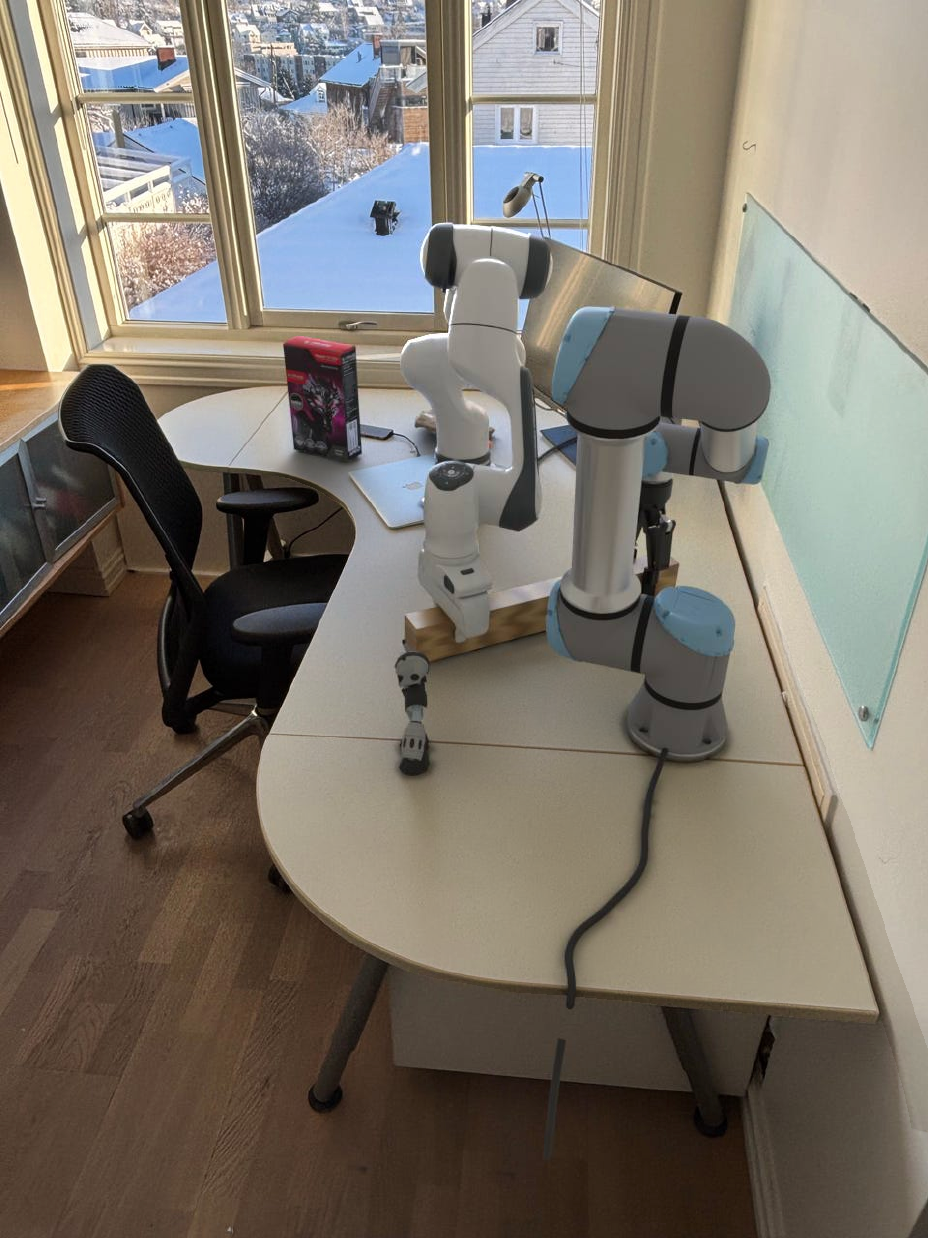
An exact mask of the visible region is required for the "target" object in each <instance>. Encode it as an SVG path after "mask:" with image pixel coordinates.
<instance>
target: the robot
mask: <svg viewBox="0 0 928 1238" xmlns="http://www.w3.org/2000/svg"><path fill="white" fill-rule="evenodd" d="M401 642H402V645H403V648H404V650H405V653H403V654H401V655H400V656H399V657H398V658H396V661H395V663H394V669H395V674H396V676H397V681H398V683H397V685H398V687H399V688H402V689H401V693H402V695H403V697H404V711H405V713H406V716H407V718H408V721H409V722H408V723H407V725H406V727H405V729H404V731H403V734H402V735H403V736H402V740H401V741H400V743H399V745H398V746H399V748H400V753H401V758H402V759H401V762H400V764H399V766H398V769H399V770H400V771H401V772H402V773H403V774H405V775H408V776H416V775H419V774H422V773H425V772H427V771H428V769H429V767H430V765H431V764H430V763H431V762H430V756H429V755H430V754H429V752H428V750H429V749H430V745H429V744H430V743H429V738H428V734H427V732H426V728H425V724H424V723H423V722H422V721H423V719H424V708H428V705H429V704H428V702H429V701H428V694H427V690H426V684H427V683H428V677H427V675H428V674H429V673H430V670H431V664H430V663H431V661H429V660H428V658H427V657H426V656H425V655H424V654H422V653H420V652H417V651H411V650H410V648H409V646H408V645H407V643H406V641H405V638H403V639H402V640H401Z"/></svg>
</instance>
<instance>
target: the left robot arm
mask: <svg viewBox="0 0 928 1238" xmlns="http://www.w3.org/2000/svg"><path fill="white" fill-rule="evenodd" d="M551 250H552V249H551V245H550V243H549V242H548V240H547V239H546V238H544V237H542V236H540V235H538V234H536V233H532V232H528V233H524V232H521V231H518V230H517V231H516V230H513V229H509V228H506V227H500V226H493V225H491V226H487V225H476V224H454V223H453V222H440V223H435V224H434V225H433V226H431V228H429V230H428V232H427V235H426V236H425V238H424V240H423V243H422V246H421V249H420V265H421V269H422V272H423V278H424V279H425V281H427V283H428V284H429V285H430V286H431V287H433V288H436V289H438V290H440V291H441V292H442V293H443V294H445V298H444V303H443V314H444V319H445V321H446V323H447V325H448V332H444V333H443V332H442V333H432V334H428V335H423V336H420V337H417V338H412V339H409V340H408V341H407V342H406V344H405V345H404V347H403V348H402V350H401V354H400V359H399V365H400V367H399V368H400V372H401V374H402V377H403V378H404V381H405V382H406V383H407V385H409V386H410V387H411V388H412V389H414V390H415V391H417V392H418V393H419V394H421V395H422V396H423V397H424V398H425V400H426V401H427V402H428V404H429V405H430V407H431V410H433V412H434V415H435V420H436V430H437V438H436V447H435V449H434V465H433V466H432V467H431V468H430V470H429V471H428V472H427V477H426V482H425V488H424V495H423V498H422V499H421V505H422V506H423V511H422V512H423V513H422V514H423V521H422V522H423V526H424V528H425V537H424V540H423V541H422V549H421V550H420V551H419V553H418V560H417V578H418V583H419V584H420V586H421V587H422V588H423V589H424V590H425V591H426V593H427V594H428V595H430V597H431V598H432V600H433V601H432V602H433V604H434V607H438V606H440V607H441V608H442V610H443V611H444V612H445V613H446V614H447V615H448V617H449V618H450V619H451V620H452V621H453V622H454V623H455V626H456V627H457V628H456V630H453V638H454V639H455V641H456V642H457V643H460V642H463V641H465V640H466V637H467V638H473V637H477V636H480V635H483V634H485V633H486V632H487V630H488V627H489V616H490V599H489V594H490V593H489V591H490V590H492V588H493V580H492V579H493V578H492V577H491V576H490V574H489V572H488V571H487V569H486V566H485V565H484V561H483V559H482V556H481V554H480V553H479V539H478V536H477V532H478V531H477V530H478V527H479V525H483V526H490V527H498V528H499V529H504V530H509V531H513V532H518V533H519V532H521V531H524V530H525V529H527V528H529V527H530V526H532V525H533V524H534V523H536V522H537V521H538V520H539V518H540V516H541V515H540V514H541V512H542V508H543V490H542V484H541V480H540V479H541V478H540V469H539V467H540V466H539V462H540V461H541V460H542V459H544V458H545V457H546V456H548V455H549V454H550V453H552V452H554V451H555V450H557V449H559V448H561V447H563V446H564V445H567V444H568V443H570V442H572V441H575V440H577V439H578V435H575V436H573V437H570V438H568V439H565V440H563V441H561V442H560V443H558V444H556V445H554V446H553V447H550V448H549V449H548V450H546V451H545V452H544V453H542V454H541V455H540V456H539V450H538V449H539V447H538V427H537V425H538V424H537V409H536V408H537V407H536V397H535V386H534V381H533V377H532V374H531V371H530V369H529V368H527V367H526V360H527V353H526V348H525V345H524V343H523V341H522V339H521V338H520V336H518V328H519V315H520V314H519V309H520V308H519V307H520V306H519V304H520V303H519V300H532V299H537V298H538V297H540V296H541V295H542V294H543V293H544V291H545V289H546V287H547V285H548V284H549V281H550V278H551V276H552V272H553V256H552V251H551ZM471 388H474V389H476V390H478V391H480V392H482V393H484V394H486V395H488V396H490V397H491V398H493V399H494V400H496V401H497V402H499V403H500V404H501V405H502V406H504V408H505V409H506V411H507V413H508V416H509V420H510V421H509V422H510V434H511V435H510V436H511V455H512V456H511V458H512V464H511V466H509V467H506V466H503V465H500V464H497V463H493V462H492V452H491V449H492V440H490V438H489V427H490V417H489V415H488V412H487V411H486V410H485V408H484V407H483V406H481V405H479V404H478V403H476V402H474V401H472V400H469V399H467V398H465V397H463V390H464V389H471Z"/></svg>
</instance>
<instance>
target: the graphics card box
mask: <svg viewBox="0 0 928 1238" xmlns="http://www.w3.org/2000/svg"><path fill="white" fill-rule="evenodd" d="M282 346H283V355H284V365H285V374H286V375H285V376H286V383H287V384H286V386H287V394H288V405H289V414H290V423H291V425H290V427H291V436H292V444H293V445H292V447H293V451H294V450H296V451H299V452H304V453H307V454H312V455H315V456H316V455H317V456H321V457H325V458H329V459H332V460H338V461H342V462H346V463H349V462H351V461H352V460H354V459H355V458H357V457H358V456H361V455H362V453H363V447H362V431H361V429H362V428H361V416H360V415H361V414H360V402H359V401H360V400H359V384H358V367H357V366H358V364H357V347H356V345H355V344H346V343H340V342H335V341H329V340H324V339H319V338H313V337H309V336H304V335H296V336H292V337H291V338H289V339H288V340H286V341H285V342H284V343H283V344H282Z"/></svg>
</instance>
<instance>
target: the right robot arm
mask: <svg viewBox="0 0 928 1238" xmlns="http://www.w3.org/2000/svg"><path fill="white" fill-rule="evenodd" d="M556 355H557V356H556V359H555V362H554V363H555V364H554V369H553V373H552V374H553V375H552V379H551V395H552V400H553V401H554V402H555V403H558V404H559V406H562V405H563V406H564V405H565V404H566V422H567V424H568V425H569V427H570V428H571V429H572V430H573V431H575V432H576V433H577V436H578V439H576V440H577V442H576V465H575V484H574V486H575V487H574V508H573V509H574V510H573V528H572V529H573V531H572V532H573V533H572V553H571V567H570V568H569V569H567V570H566V572H565V573H563V575H562V576H563V577H562V579H560V580H558V581H557V582H556V583H555V584H554V586H553V588H552V590H551V593H550V596H549V600H548V606H547V611H548V613H547V616H546V630H545V632H546V638H547V643H548V645H549V648H550V649H551V651H552V652H553V653H554V654H556V655H558V656H561V657H564V658H567V659H571V660H573V662H578V663H588V664H592V665H597V666H602V667H607V668H612V669H618V670H621V671H626V672H631V673H636V674H641V675H644V677H643V682H642V684H641V685H640V688H639V689H638V691H637V692H636V694H635V695H634V697H633V699H632V701H631V702H630V704H629V706H628V708H627V711H626V719H625V728H626V732H627V734H628V736H629V738H630V739H631V741H632V742H634V744H636V745H637V746H638V747H639V748H640V749H641V750H643V751H645V752H646V753H648V754H650V755H651V756H654V757H656V758H658V760H657V762H656V765H655V768H654V771H653V773H652V776H651V778H650V781H649V784H648V787H647V790H646V795H645V800H644V805H643V813H642V821H641V831H640V857H639V861H638V865H637V867H636V868H635V871H633V872H634V873H633V874H632V876H630V878H629V880H628V881H627V882H626V883H625V884H624V885H623V886H622V887H621V888H620V889H619V890H618V891H617V892H616V893H615V894H614V895H613V896H612V897H611V898H610V899H609V900H608V901H607V902H606V903H605V904H604V905H603V906H602V907H601V908H599V910H597V911H596V912H595V913H594V914H591V916H590V917H588V918H587V919H586V920H585V921H583V922H582V923H581V924H579V926H578V927H576V929H575V930H574V931H573V933H572V934H571V936H570V938H569V939H568V942H567V944H566V947H565V952H564V967H565V972H566V973H565V974H566V981H567V982H566V983H567V990H566V991H567V992H566V1001H565V1007H566V1008H567V1010H572V1009H574V1007H575V1004H576V997H577V996H576V994H577V979H576V971H575V965H574V951H575V947H576V945H577V943H578V942H579V940H580V938H581V937H582V936H583V935H584V934H585V933H586V932H587V931H588V930H589V929H590V928H591V927H593V926H594V925H595V924H597V923H598V922H600V921H601V920H602V919H603V918H605V917H606V916H607V915H608V914H609V913H610V912H611V911H612V910H613V909H614V908H615V907H616V906H617V905H618V903H620V901H622V900H623V899H624V898H625V897H626V896H627V895H628V894H629V893H630V892H631V891H632V889H633V888H634V887H635V886H636V885H637V883H638V881H640V879H641V877H642V876H643V873H644V870H645V869H646V866H647V863H648V858H649V831H650V821H651V812H652V805H653V799H654V795H655V789H656V786H657V783H658V781H659V778H660V776H661V772H662V770H663V768H664V764H665V762H666V761H670V762H675V763H694V762H700V761H703V760H706V759H709V758H711V757H714V755H716V754H718V752H720V751H721V750H722V748H723V747H724V744H725V743H726V740H727V739H726V738H727V733H728V721H727V716H726V712H725V708H724V707H725V706H724V701H723V692H724V686H725V682H726V678H727V677H726V676H727V672H728V666H729V661H730V657H731V653H732V652H733V649H734V646H735V638H734V637H735V631H736V618H735V616H734V614H733V611H732V610H731V608H730V607H729V606H728V605H727V604H726V603H724V601H723V600H722V599H721V598H719V597H718V596H717V595H715V594H714V593H713V594H712V593H711V592H709V591H706V590H704V589H702V588H698V587H694V586H689V585H676V586H675V588H674V587H668V588H665V589H663V590H662V591H660V592H659V594H658V595H657V596H656V597H655V589H656V584H657V583H658V579H659V572H660V571H663V570H666V569H669V564H670V556H671V553H672V543H673V534H674V530H675V528H676V526H677V522H676V520H675V519H671V520H670V519H669V518H668V516H667V510H666V504H667V502H669V500H670V499H671V497H672V491H673V485H674V479H673V478H674V476H675V475H676V474H677V475H684V476H689V477H690V476H691V477H699V478H705V479H710V480H716V481H723V482H730V483H734V484H736V485H741V484H743V485H744V484H745V485H752V486H755V485H758V484H759V483H761V482H762V479H763V475H764V471H765V466H766V462H767V457H768V452H769V451H768V450H769V447H770V442H769V438H766V437H764V436H760V435H757V429H758V423H759V422H758V421H759V419H760V418H761V417H762V415H764V413H765V411H766V410H767V408H768V405H769V401H770V396H771V390H772V384H771V383H772V382H771V377H770V373H769V369H768V367H767V365H766V362H765V360H764V359H763V358H762V356H761V354H760V353H759V352H758V351H757V349H756V347H754V346H753V345H752V343H750V342H749V341H748V340H747V339H746V338H744V337H743V336H742V335H741V334H740V333H739V332H737V331H736V330H734V329H732V328H731V327H729V326H728V325H726V324H723V323H721V322H719V321H717V320H715V319H711V318H707V317H704V316H698V315H697V316H695V315H683V314H675V313H664V312H656V311H646V310H639V309H638V310H636V309H628V308H620V307H619V308H618V307H616V306H614V305H613V306H610V307H606V306H584V307H581V308H579V309H577V311H576V312H575V313H574V314H573V315H572V316H571V318H570V319H569V322H568V323H567V325H566V328H565V331H564V332H563V336H562V338H561V342H560V344H559V348H558V352H557V354H556ZM683 420H689V421H697V422H699V426H700V427H695V426H690V425H689V426H688V425H682V422H683ZM641 531H642V533H643V534H644V535H645V549H646V556H647V565H648V567H644V573H643V580H642V587H641V584H640V581H639V579H638V577H637V576H636V575H635V574H634V573H633V572H632V568H633V559H635V558H638V557H637V556H638V549H637V548H636V547H638V543H637V542H638V539H639V537H640V534H641ZM654 562H655V563H654ZM566 1045H567V1039H563V1038H559V1037H558V1038H557V1042H556V1049H555V1055H554V1061H553V1067H552V1074H551V1082H550V1087H549V1089H550V1090H549V1098H548V1106H547V1116H546V1117H547V1118H546V1128H545V1137H544V1145H543V1154H542V1158H543V1159H544V1160H545V1161H550V1159H551V1158H552V1148H553V1141H554V1133H555V1132H554V1131H555V1125H556V1124H555V1122H556V1113H557V1104H558V1097H559V1091H560V1090H559V1089H560V1081H561V1075H562V1069H563V1068H562V1067H563V1063H564V1055H565V1050H566Z"/></svg>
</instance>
